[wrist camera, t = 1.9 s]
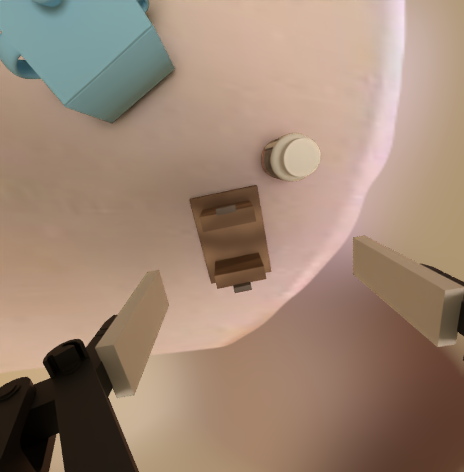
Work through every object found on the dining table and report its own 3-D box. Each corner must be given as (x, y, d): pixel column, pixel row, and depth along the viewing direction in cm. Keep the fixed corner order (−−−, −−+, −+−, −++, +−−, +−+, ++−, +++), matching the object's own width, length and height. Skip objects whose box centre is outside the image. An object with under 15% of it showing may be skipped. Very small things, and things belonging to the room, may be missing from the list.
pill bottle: (283, 184, 34) (306, 193, 25) (253, 164, 33) (266, 166, 24) (305, 152, 33) (338, 149, 24) (275, 130, 32) (297, 118, 23)
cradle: (190, 198, 34) (183, 207, 28) (256, 185, 34) (264, 190, 28) (211, 280, 39) (209, 304, 32) (269, 268, 39) (279, 290, 32)
